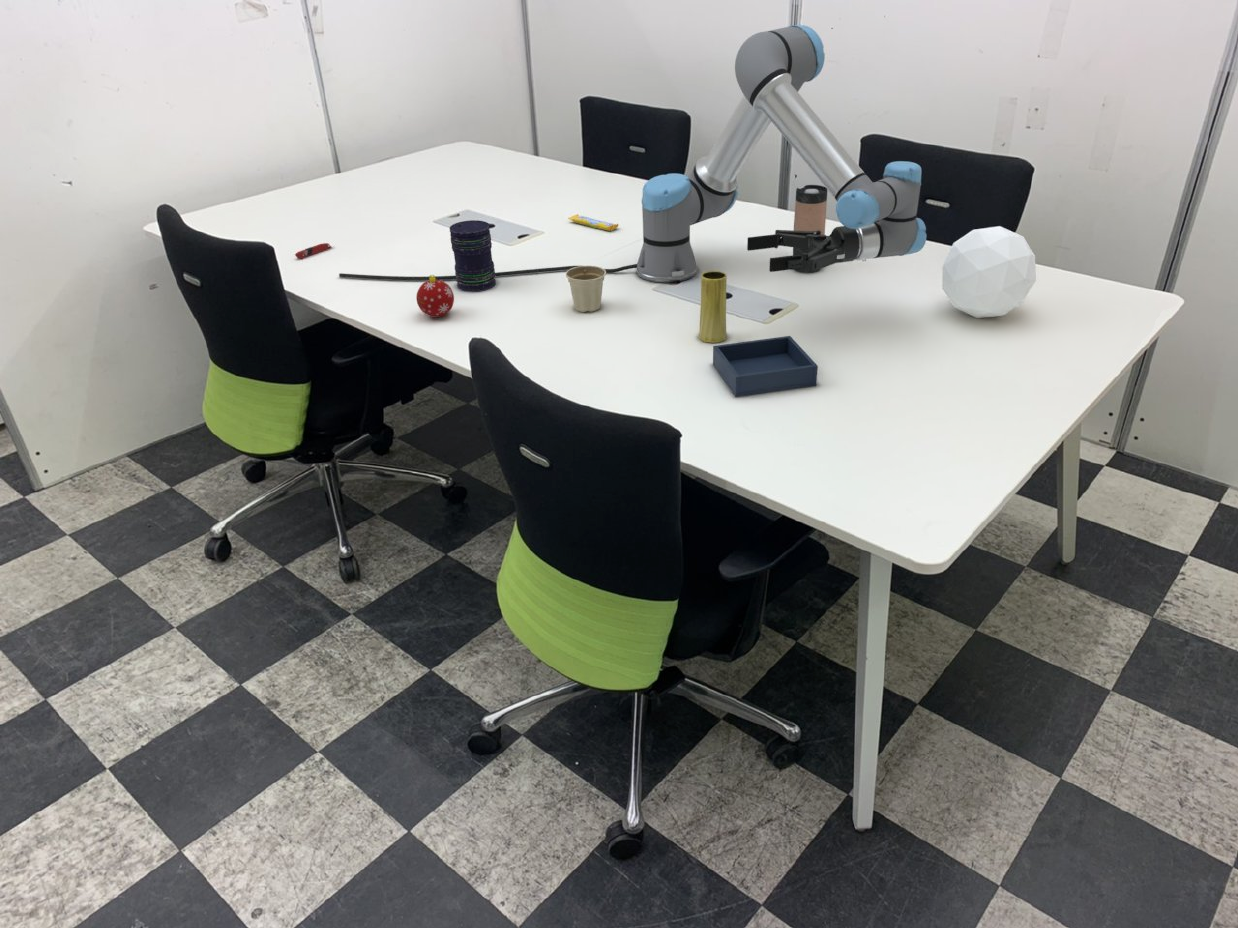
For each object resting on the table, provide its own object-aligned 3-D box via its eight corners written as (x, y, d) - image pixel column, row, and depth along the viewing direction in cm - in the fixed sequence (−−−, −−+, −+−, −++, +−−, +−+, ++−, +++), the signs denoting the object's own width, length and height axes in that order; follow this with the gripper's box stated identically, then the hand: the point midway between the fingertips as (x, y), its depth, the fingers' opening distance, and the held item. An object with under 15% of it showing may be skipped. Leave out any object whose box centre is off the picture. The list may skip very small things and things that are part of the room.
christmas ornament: (415, 312, 221) (409, 272, 216) (451, 305, 224) (445, 266, 218) (424, 325, 214) (417, 284, 209) (460, 318, 217) (454, 277, 212)
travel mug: (822, 274, 232) (827, 194, 221) (791, 273, 233) (795, 193, 223) (822, 262, 238) (828, 184, 228) (792, 262, 240) (796, 184, 229)
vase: (696, 332, 205) (697, 270, 198) (724, 330, 206) (725, 269, 198) (701, 344, 200) (701, 281, 193) (729, 342, 201) (731, 279, 193)
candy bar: (620, 229, 267) (620, 222, 266) (611, 233, 265) (610, 226, 264) (577, 219, 277) (577, 212, 276) (568, 222, 274) (567, 216, 273)
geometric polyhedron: (981, 350, 208) (979, 302, 191) (926, 293, 218) (919, 243, 201) (1055, 301, 206) (1059, 248, 189) (995, 246, 217) (994, 191, 200)
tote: (735, 397, 180) (736, 377, 177) (712, 364, 192) (713, 345, 189) (816, 385, 182) (818, 365, 180) (788, 354, 194) (790, 335, 192)
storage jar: (503, 280, 237) (497, 222, 229) (483, 294, 229) (475, 235, 221) (470, 275, 240) (463, 218, 232) (449, 289, 233) (440, 230, 225)
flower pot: (613, 301, 222) (611, 267, 217) (599, 317, 215) (597, 281, 210) (576, 298, 225) (574, 264, 220) (562, 313, 217) (559, 278, 213)
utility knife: (297, 260, 255) (296, 253, 254) (295, 259, 256) (293, 252, 255) (332, 248, 263) (331, 241, 262) (330, 247, 263) (328, 240, 262)
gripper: (877, 280, 190) (779, 292, 187) (828, 242, 211) (739, 252, 208) (881, 244, 186) (781, 256, 183) (830, 209, 207) (739, 219, 204)
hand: (758, 254), depth 195 cm, fingers open, 13 cm apart
